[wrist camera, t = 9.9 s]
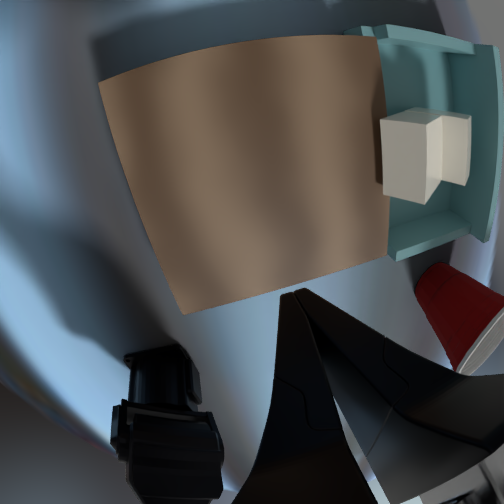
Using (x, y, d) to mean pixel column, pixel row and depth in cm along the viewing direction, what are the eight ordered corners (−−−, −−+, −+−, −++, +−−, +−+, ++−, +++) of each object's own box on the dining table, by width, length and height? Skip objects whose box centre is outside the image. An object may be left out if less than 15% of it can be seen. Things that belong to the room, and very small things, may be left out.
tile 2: (382, 194, 17) (424, 204, 15) (379, 119, 15) (426, 124, 13) (406, 172, 20) (441, 180, 18) (404, 110, 17) (441, 115, 15)
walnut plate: (182, 282, 23) (182, 315, 20) (116, 85, 15) (98, 82, 11) (362, 232, 24) (386, 255, 21) (345, 43, 16) (376, 36, 12)
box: (362, 241, 25) (399, 279, 20) (343, 31, 15) (392, 18, 10) (450, 214, 26) (488, 240, 21) (449, 44, 16) (498, 47, 11)
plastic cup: (452, 297, 34) (502, 352, 23) (394, 326, 33) (443, 396, 23) (467, 232, 28) (535, 287, 18) (404, 258, 27) (478, 335, 17)
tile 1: (465, 185, 16) (469, 174, 18) (467, 119, 14) (471, 115, 15) (406, 172, 20) (417, 163, 21) (404, 110, 17) (415, 107, 19)
